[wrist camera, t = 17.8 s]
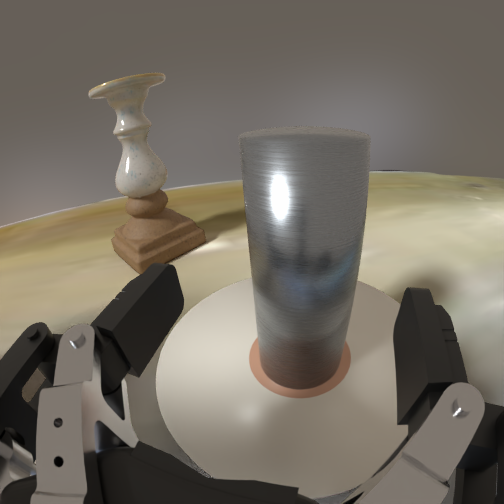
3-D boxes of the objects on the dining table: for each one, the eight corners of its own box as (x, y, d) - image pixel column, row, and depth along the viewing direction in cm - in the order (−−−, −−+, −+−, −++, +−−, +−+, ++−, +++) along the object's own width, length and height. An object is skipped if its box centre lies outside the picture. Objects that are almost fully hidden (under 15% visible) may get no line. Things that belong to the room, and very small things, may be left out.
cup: (264, 395, 16) (240, 147, 8) (256, 332, 20) (237, 130, 13) (350, 380, 16) (395, 144, 9) (328, 322, 20) (341, 126, 13)
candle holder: (141, 276, 33) (97, 80, 21) (112, 249, 40) (77, 98, 28) (207, 241, 40) (184, 68, 28) (169, 223, 47) (146, 83, 34)
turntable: (149, 502, 10) (138, 498, 9) (179, 294, 27) (175, 282, 26) (467, 442, 10) (479, 432, 10) (373, 273, 28) (375, 260, 27)
